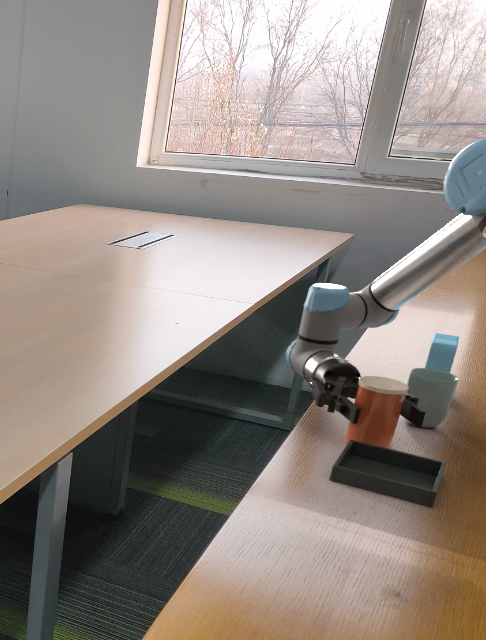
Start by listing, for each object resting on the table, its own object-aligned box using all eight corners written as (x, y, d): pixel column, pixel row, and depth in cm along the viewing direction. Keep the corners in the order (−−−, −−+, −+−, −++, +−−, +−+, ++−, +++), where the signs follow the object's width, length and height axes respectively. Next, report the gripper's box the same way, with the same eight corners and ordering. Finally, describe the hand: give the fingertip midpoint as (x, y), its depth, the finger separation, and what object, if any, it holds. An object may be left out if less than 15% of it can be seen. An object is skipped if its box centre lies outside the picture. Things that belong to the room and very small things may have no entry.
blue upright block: (441, 403, 165) (457, 347, 161) (416, 398, 168) (431, 343, 163) (443, 388, 175) (459, 334, 170) (420, 383, 177) (435, 331, 172)
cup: (447, 434, 149) (463, 383, 145) (400, 427, 151) (415, 377, 148) (438, 420, 156) (453, 371, 152) (394, 413, 158) (407, 365, 154)
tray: (441, 479, 130) (446, 462, 129) (431, 511, 119) (436, 492, 118) (346, 455, 138) (350, 439, 136) (328, 483, 127) (333, 465, 126)
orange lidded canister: (394, 446, 142) (411, 382, 138) (387, 459, 137) (405, 393, 132) (347, 435, 147) (363, 372, 142) (339, 447, 141) (355, 383, 136)
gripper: (386, 397, 157) (451, 441, 136) (270, 391, 157) (316, 434, 137) (396, 360, 154) (463, 400, 133) (277, 354, 155) (326, 393, 134)
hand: (389, 417), depth 135 cm, fingers open, 10 cm apart
